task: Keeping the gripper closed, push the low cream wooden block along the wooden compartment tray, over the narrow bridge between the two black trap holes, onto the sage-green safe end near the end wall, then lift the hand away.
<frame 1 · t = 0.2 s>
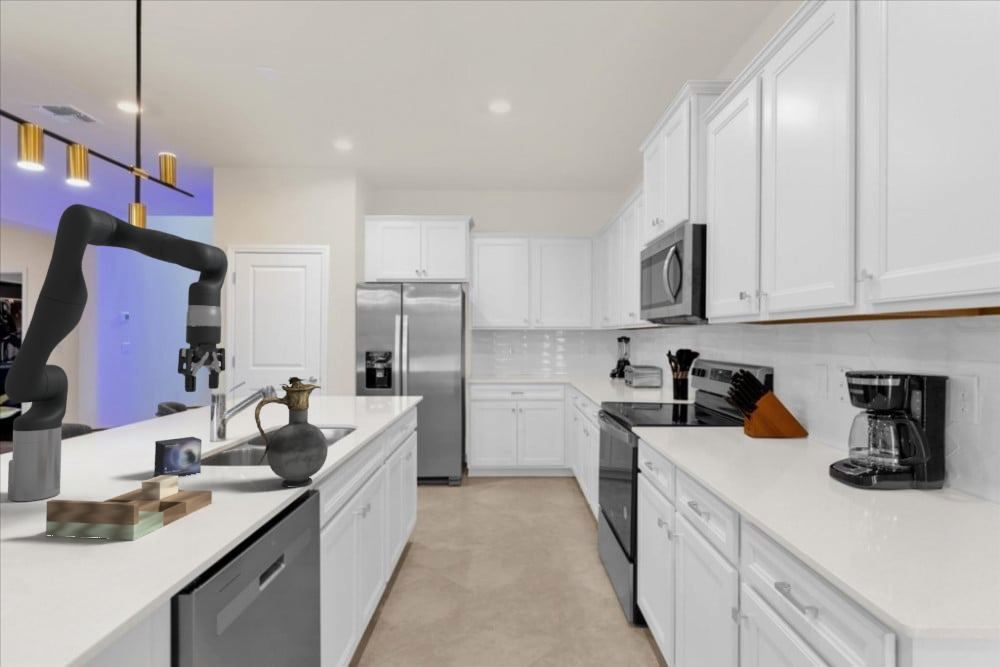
hand: (202, 390, 128), 28 cm above the countertop, tool pointing down, fingers open, 8 cm apart
wooden compartment tray: (136, 518, 116), on the countertop
pitcher: (290, 485, 144), on the countertop
block: (160, 495, 123), point 3 cm above the countertop, touching wooden compartment tray
small box: (177, 476, 153), on the countertop
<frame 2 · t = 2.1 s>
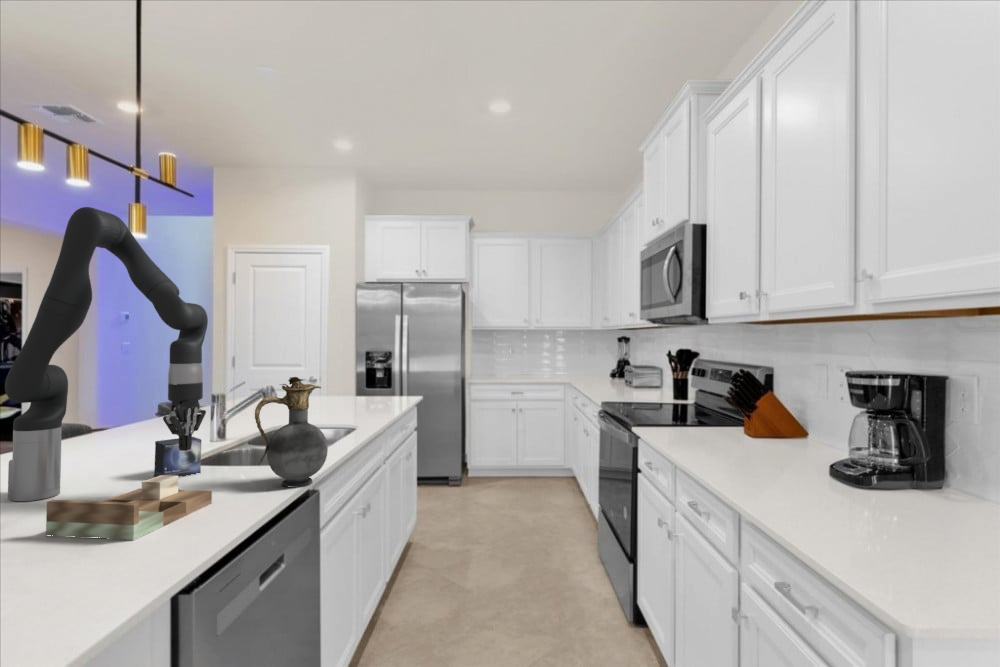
hand: (185, 450, 131), 12 cm above the countertop, tool pointing down, fingers closed
nothing on the countertop moved.
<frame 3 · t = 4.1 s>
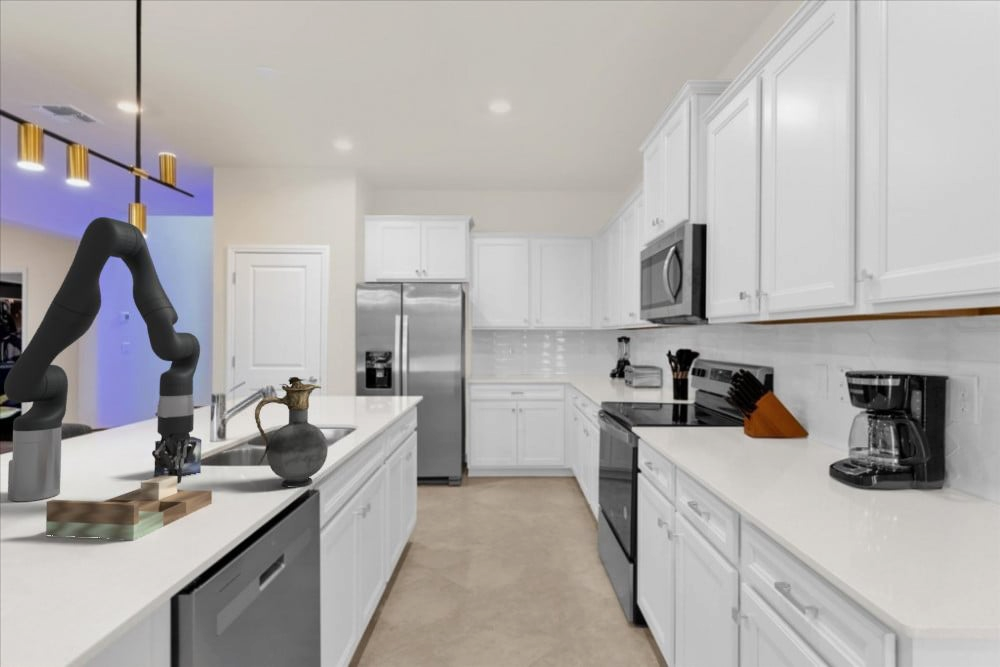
hand: (174, 483, 127), 5 cm above the countertop, tool pointing down, fingers closed
block: (159, 496, 122), point 3 cm above the countertop, touching gripper, wooden compartment tray
everything else where it was.
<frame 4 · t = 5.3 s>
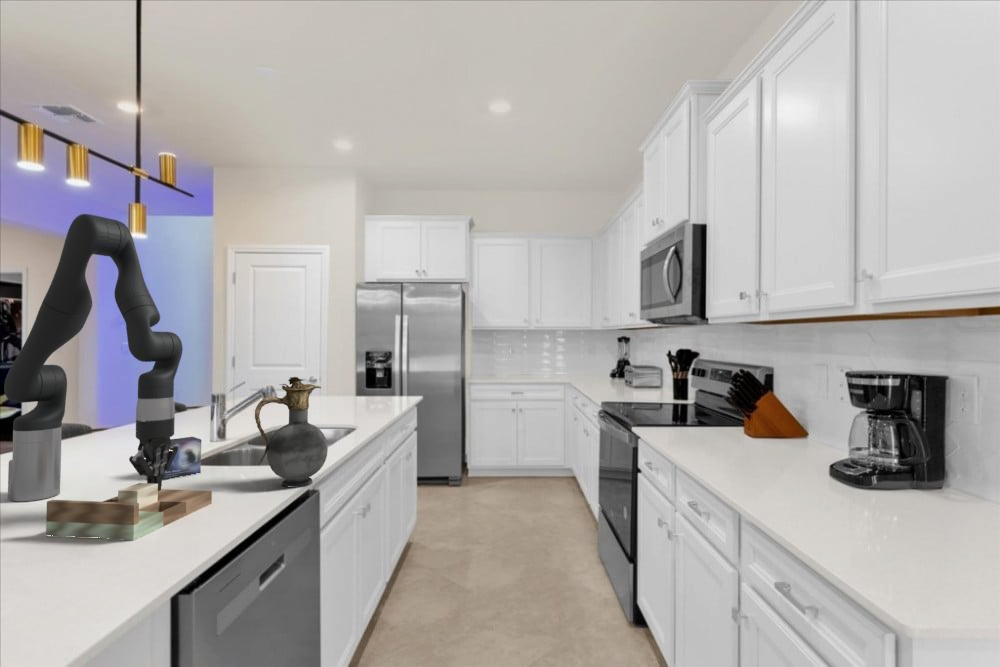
hand: (154, 491, 121), 5 cm above the countertop, tool pointing down, fingers closed
block: (138, 505, 116), point 3 cm above the countertop, touching gripper, wooden compartment tray
everything else where it was.
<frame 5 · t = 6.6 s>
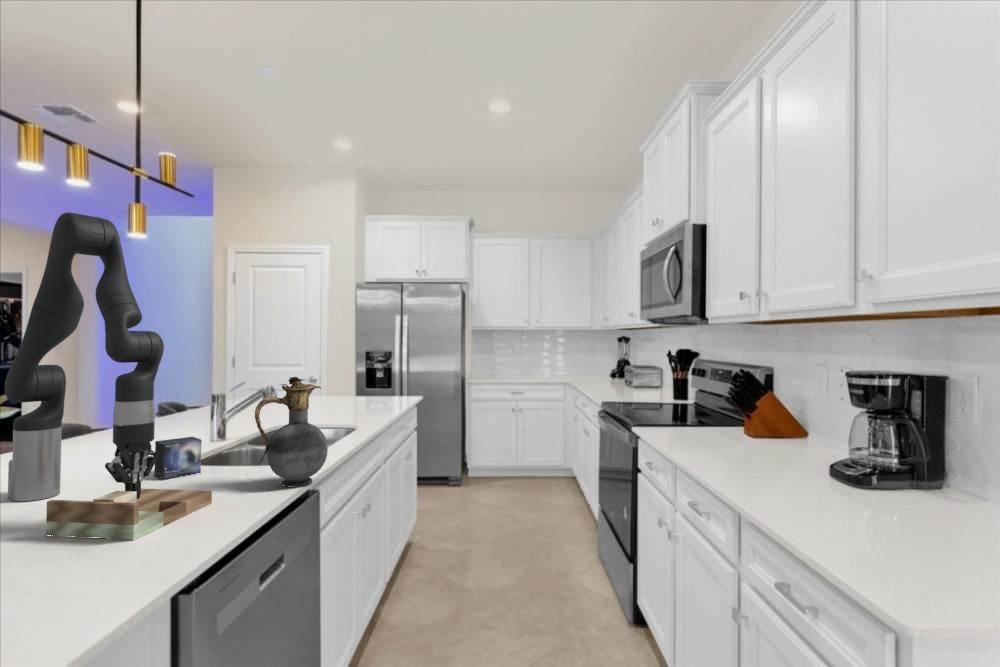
hand: (132, 499, 114), 5 cm above the countertop, tool pointing down, fingers closed
block: (115, 514, 109), point 3 cm above the countertop, touching wooden compartment tray
everything else where it was.
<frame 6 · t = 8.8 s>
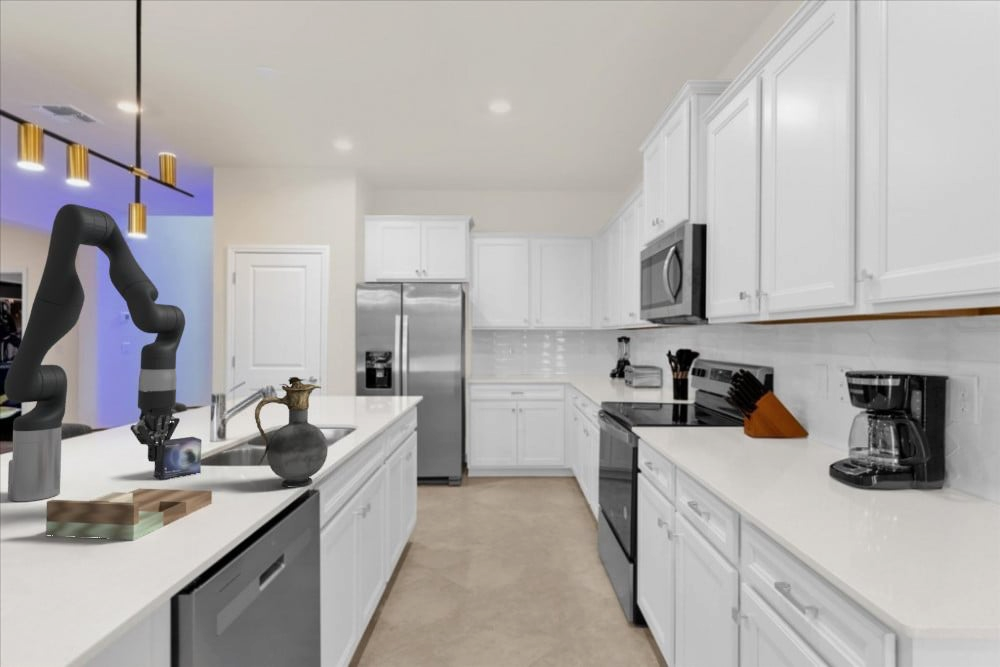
hand: (154, 460, 123), 11 cm above the countertop, tool pointing down, fingers closed
block: (110, 515, 108), point 3 cm above the countertop, touching wooden compartment tray
everything else where it was.
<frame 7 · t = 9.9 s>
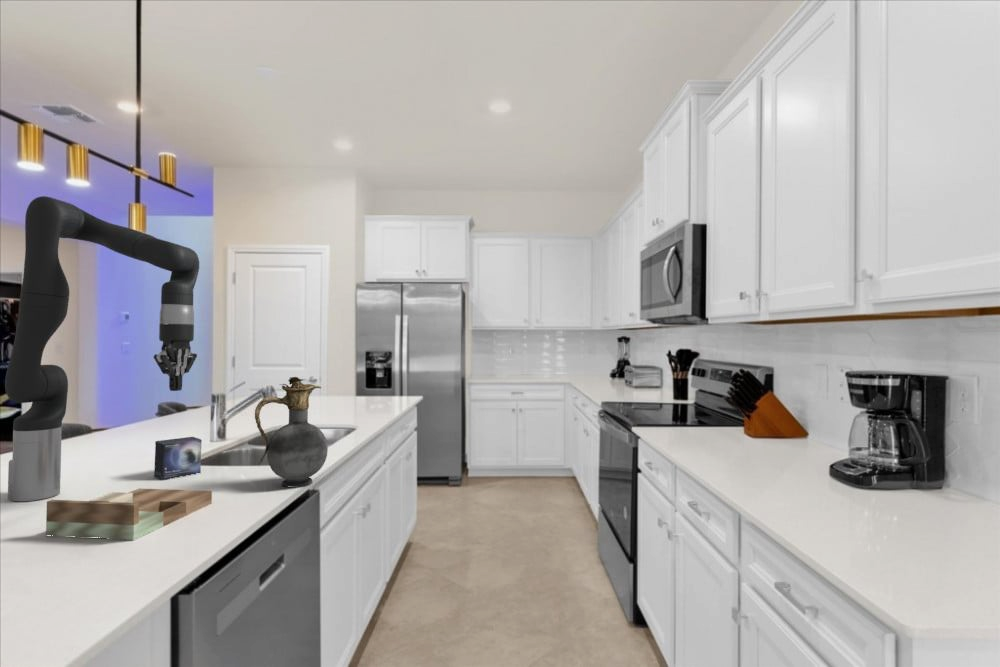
hand: (175, 390, 132), 27 cm above the countertop, tool pointing down, fingers closed
nothing on the countertop moved.
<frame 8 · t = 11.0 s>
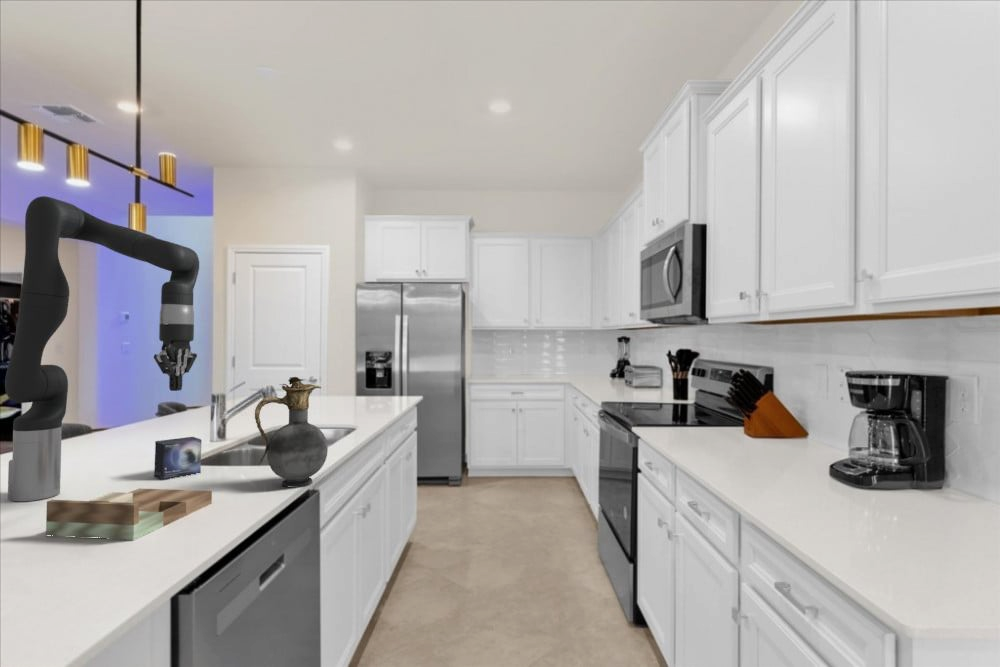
hand: (175, 390, 133), 27 cm above the countertop, tool pointing down, fingers closed
nothing on the countertop moved.
at the end: block 1.2 cm from the target spot on the wooden compartment tray, point 3.0 cm above the wooden compartment tray's base; block tilted 0° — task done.
